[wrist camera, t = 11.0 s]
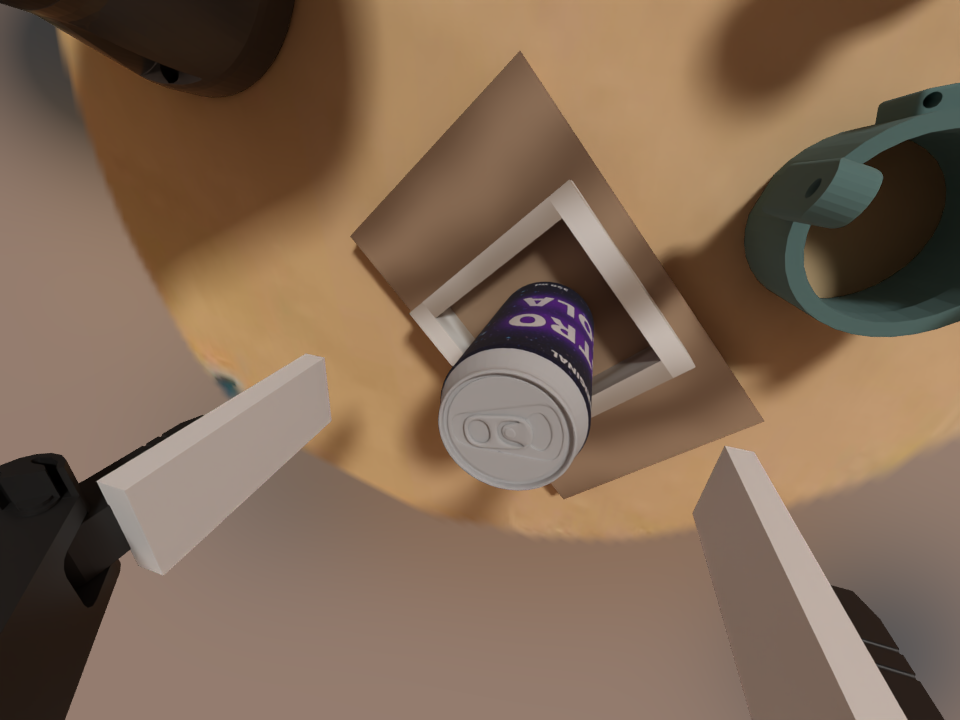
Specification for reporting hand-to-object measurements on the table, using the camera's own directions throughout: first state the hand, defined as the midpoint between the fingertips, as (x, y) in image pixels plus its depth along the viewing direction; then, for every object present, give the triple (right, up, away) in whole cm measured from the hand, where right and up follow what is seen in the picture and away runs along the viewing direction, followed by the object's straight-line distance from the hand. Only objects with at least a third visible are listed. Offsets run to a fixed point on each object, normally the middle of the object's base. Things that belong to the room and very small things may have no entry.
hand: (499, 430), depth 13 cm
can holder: (+4, +5, +12) cm, 14 cm away
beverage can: (+4, +5, +11) cm, 13 cm away
